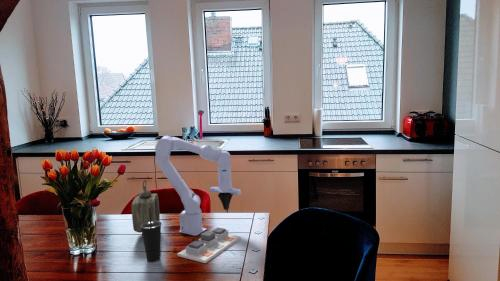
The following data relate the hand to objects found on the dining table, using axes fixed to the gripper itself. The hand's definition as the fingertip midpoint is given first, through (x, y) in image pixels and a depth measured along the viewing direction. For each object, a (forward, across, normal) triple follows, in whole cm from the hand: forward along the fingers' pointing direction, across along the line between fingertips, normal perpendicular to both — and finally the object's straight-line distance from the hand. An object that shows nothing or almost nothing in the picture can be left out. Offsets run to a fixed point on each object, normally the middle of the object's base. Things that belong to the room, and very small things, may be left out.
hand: (226, 209), depth 170 cm
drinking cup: (+10, -11, -35) cm, 38 cm away
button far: (+8, +2, -11) cm, 14 cm away
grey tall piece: (+10, -28, -19) cm, 36 cm away
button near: (+8, +1, -26) cm, 27 cm away
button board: (+9, +3, -18) cm, 21 cm away
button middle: (+7, +2, -18) cm, 19 cm away
